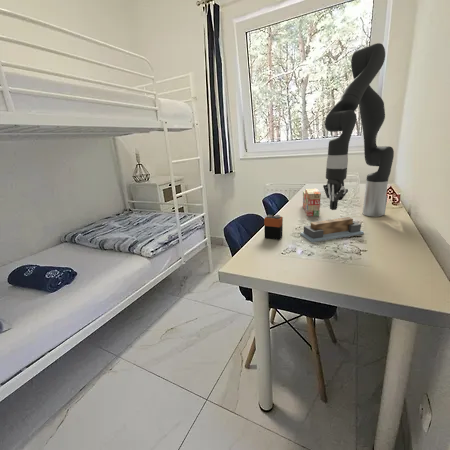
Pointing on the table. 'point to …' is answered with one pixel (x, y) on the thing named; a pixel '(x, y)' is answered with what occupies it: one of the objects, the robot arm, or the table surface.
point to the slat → (333, 225)
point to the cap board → (318, 234)
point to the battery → (273, 227)
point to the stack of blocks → (311, 202)
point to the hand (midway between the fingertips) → (333, 209)
